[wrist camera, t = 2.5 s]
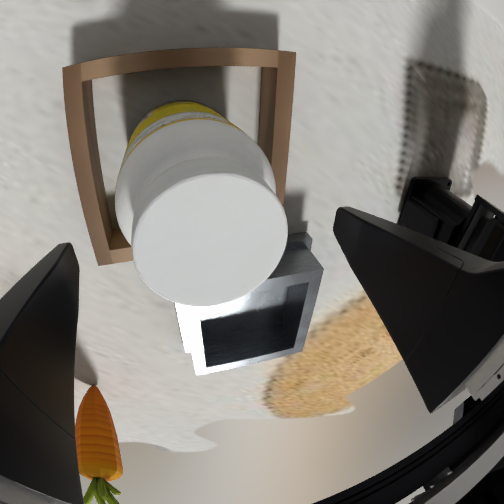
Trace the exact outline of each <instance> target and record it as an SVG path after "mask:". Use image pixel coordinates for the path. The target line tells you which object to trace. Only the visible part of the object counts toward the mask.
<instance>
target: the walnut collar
mask: <svg viewBox="0 0 504 504" xmlns="http://www.w3.org/2000/svg"><path fill="white" fill-rule="evenodd" d="M295 62H296V52H289V51H279V50H267V49H251V48H185V49H170V50H158V51H149V52H140V53H133V54H126V55H119V56H113V57H108V58H102V59H97V60H92V61H88V62H83V63H79V64H75V65H71V66H67V67H63V68H62V70H63V88H64V100H65V111H66V120H67V128H68V135H69V142H70V149H71V155H72V160H73V166H74V171H75V177H76V182H77V186H78V191H79V196H80V200H81V204H82V208H83V213H84V217H85V220H86V224H87V228H88V232H89V235H90V239H91V243H92V246H93V249H94V253H95V256H96V259H97V262H98V266H101V265H107V264H114V263H120V262H127V261H133V257H132V249H131V245H130V244H129V242H128V241H127V240H126V238H125V236H124V235H123V233H122V231H121V229H120V228H119V229H113V228H112V223H111V219H110V214H109V209H108V204H107V199H106V194H105V189H104V183H103V177H102V171H101V165H100V159H99V152H98V144H97V136H96V128H95V118H94V107H93V94H92V79H97V78H102V77H107V76H113V75H119V74H125V73H132V72H139V71H147V70H156V69H167V68H179V67H197V66H257V67H262V78H261V99H260V119H259V139H258V146H259V147H260V148H261V150H262V151H263V152H264V154H265V156H266V157H267V159H268V161H269V163H270V165H271V168H272V171H273V174H274V179H275V185H276V196H277V197H278V199H279V200H280V202H281V204H282V206H283V204H284V194H285V184H286V173H287V163H288V152H289V140H290V128H291V116H292V104H293V90H294V77H295Z"/></svg>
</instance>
